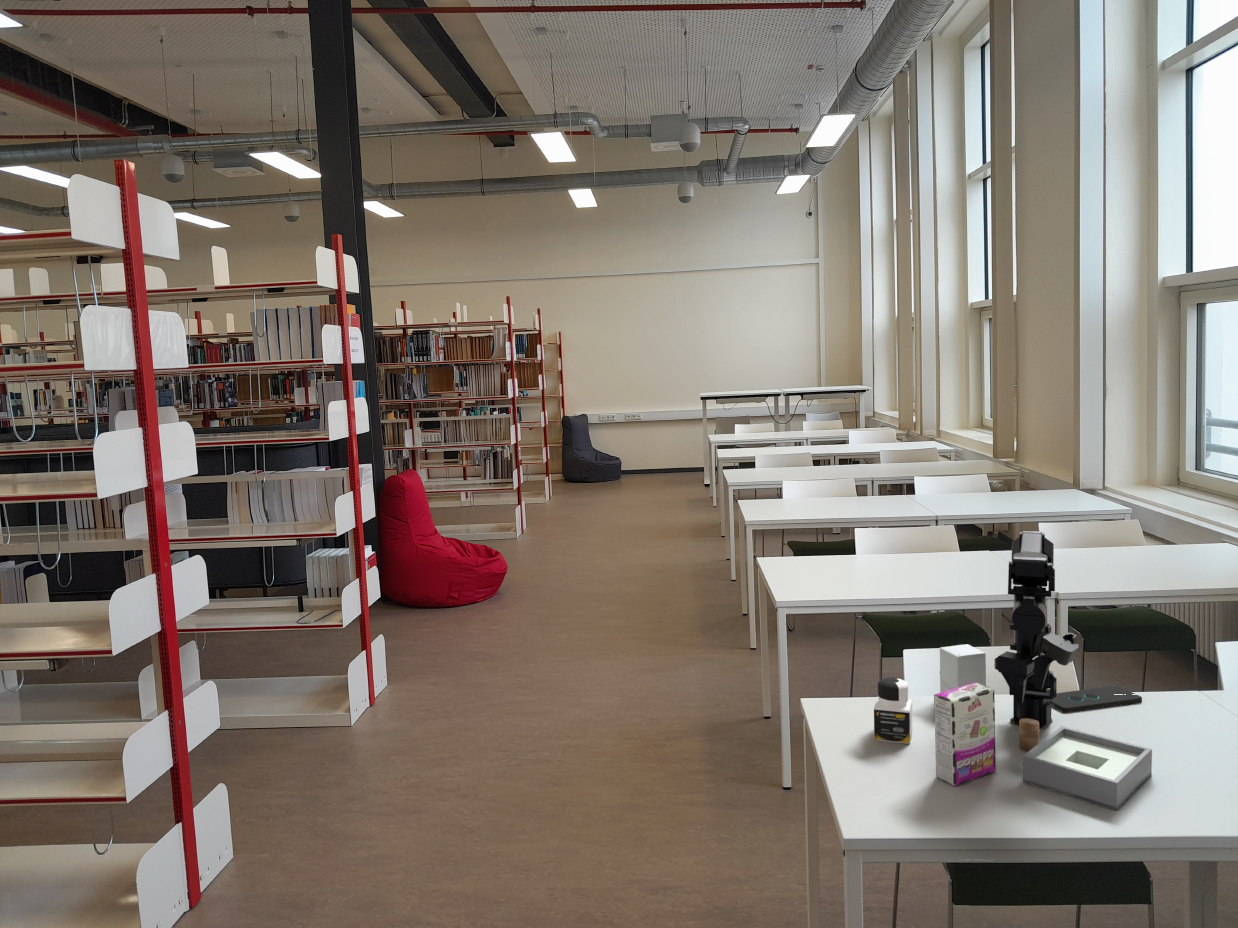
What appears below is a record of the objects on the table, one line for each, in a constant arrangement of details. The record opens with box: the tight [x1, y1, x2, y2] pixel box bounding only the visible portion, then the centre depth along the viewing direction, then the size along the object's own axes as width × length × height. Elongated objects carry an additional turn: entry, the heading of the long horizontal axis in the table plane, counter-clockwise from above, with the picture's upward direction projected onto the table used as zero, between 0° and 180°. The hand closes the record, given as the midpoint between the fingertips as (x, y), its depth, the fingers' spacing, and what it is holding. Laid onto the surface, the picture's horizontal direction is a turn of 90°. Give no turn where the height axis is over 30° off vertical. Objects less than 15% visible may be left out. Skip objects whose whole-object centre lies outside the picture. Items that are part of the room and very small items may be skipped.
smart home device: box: [1049, 685, 1143, 714], centre depth 200 cm, size 8×2×20 cm
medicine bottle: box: [873, 677, 913, 745], centre depth 186 cm, size 7×7×12 cm
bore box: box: [1021, 726, 1153, 811], centre depth 164 cm, size 16×18×5 cm
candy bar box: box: [933, 682, 997, 787], centre depth 167 cm, size 11×5×16 cm, turn 118°
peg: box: [1018, 718, 1040, 753], centre depth 177 cm, size 4×4×6 cm
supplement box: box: [939, 643, 987, 693], centre depth 201 cm, size 7×7×13 cm
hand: (1029, 695), depth 176 cm, fingers open, 9 cm apart
